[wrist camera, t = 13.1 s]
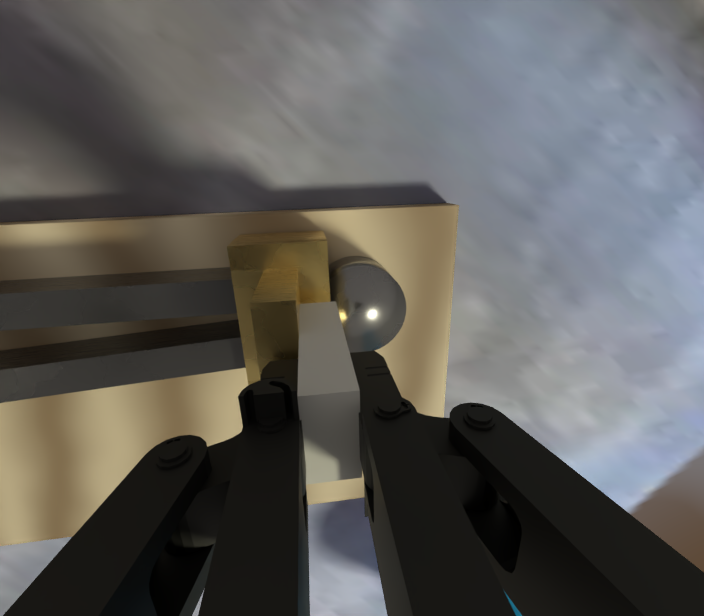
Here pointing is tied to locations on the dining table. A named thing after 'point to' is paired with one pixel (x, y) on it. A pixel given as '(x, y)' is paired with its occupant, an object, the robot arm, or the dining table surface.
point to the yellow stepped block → (275, 291)
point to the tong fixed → (198, 299)
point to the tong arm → (119, 360)
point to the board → (203, 389)
